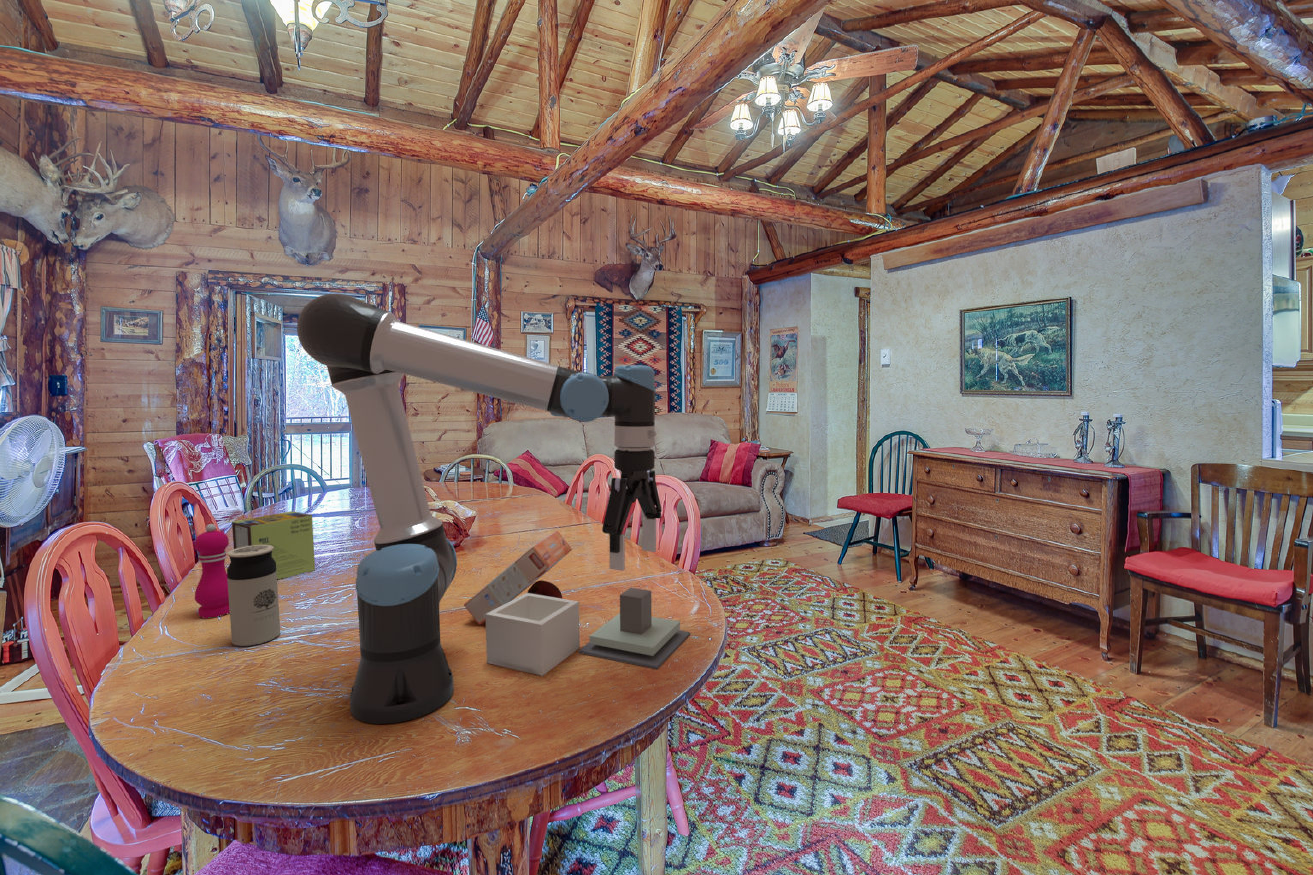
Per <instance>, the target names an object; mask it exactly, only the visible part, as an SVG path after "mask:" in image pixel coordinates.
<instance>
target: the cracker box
mask: <svg viewBox="0 0 1313 875" xmlns="http://www.w3.org/2000/svg"><path fill="white" fill-rule="evenodd" d="M572 550H573V549H572V547H571V545H570V543H568V542H567V540H566V539H565V538H564V537H563V536H562V535H561V533H560V532H559V531H558V530H554V532H552V533H550V534H549V535H547V536H546V537H545V538H543V539H542V540H540V541H538V542H537V543H536V544H534V545H532V546H531V547H529V549H528V550H527V551H526V552H524V553H523V554H522V555H520V556H519V557H518V558H517V559H516V560H515V561H514V562H512V563H511V564H510V565H508V566H507V567H506V568H505V569H504V570H502V572H500V573H499V574H498V575H497V576H495V577H494V578H493V579H492V580H491V581H490V582H489V583H487V584H486V585H485V586H484V587H483V588H481V589H480V590H479V591H477V593H475V595H473V596H472V597H471V598H469V599H468V600H467V601H466V602H465V603H464V604H463V606H464V607H465V609H466V610H467V611H468V612H469V614H470V615H471V616H472V618H473V619H474V620H475V622H476V623H477V624H478V625H479V626H481V625H482V624H483V623H486V617H485V614H487V613H489V612H490V611H492V610H494V609H496V608H498V607H500V606H502V605H504V604H506V603H508V602H510V601H512V600H514V599H516V598H518V597H519V596H520V594H522V593H523V592H524V591H525V590H527V589H529V588H530V587H531V586H532V585H533V584H534V583H535V582H537V581H539V579H540V578H541V577H543V576H544V575H545V574H546V573H547V572H549V571H550V570H551V569H553V567H555V566H556V565H557V564H558V563H559V562H560V561H561V560H562V559H563V558H564V557H566V556H567V555H568V554H569V553H570V552H571V551H572Z"/></svg>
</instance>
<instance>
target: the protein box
mask: <svg viewBox="0 0 1313 875" xmlns="http://www.w3.org/2000/svg"><path fill="white" fill-rule="evenodd" d="M231 525H232V526H231V528H232V529H231V530H232V539H233V540H232V541H233V544H232V545H233V549H236V548H240V547H246V546H252V545H271V546H273V547H274V549H273V550H272V558H273V559H274V560H275V562H276V570H277V579H280V580H282V579H281V578H284V579H288V578H291V576H292V577H294V576H295V575H296V576H299V575H298V574H300V575H302V574H301V573H304V574H306V573H305V572H307V573H311V572H314V571H316V564H315V563H316V562H315V546H314V543H315V542H314V526H313V515H312V514H310V513H309V514H308V513H303V512H298V511H294V510H290V511H286V512H282V513H281V512H280V513H275V514H269V515H262V516H257V517H251V518H246V519H240V520H234V521H232V522H231ZM296 576H295V577H296ZM287 577H288V578H287Z"/></svg>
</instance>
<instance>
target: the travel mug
mask: <svg viewBox="0 0 1313 875" xmlns="http://www.w3.org/2000/svg"><path fill="white" fill-rule="evenodd" d="M273 549H274V547H273V546H271V545H252V546H246V547H240V548H236V549H234V548H233V549H231V550H229V551H228V552H227V553H226V555H227V557H229V560H230V563H229V565H228V567H227V569H226V573H227V579H228V593H229V608H230V613H229V620H230V633H231V636H230V638H231V643H232V645H234V646H238V645H239V646H238V647H250V646H249V645H253V646H256V645H255V644H258V645H260V644H259V643H262V644H264V643H263V642H265V643H268V642H270V641H273V640H274V639H275V637H276V638H277V637H279V635H280V634H281V623H280V622H281V619H280V606H279V591H278V590H279V589H278V588H279V587H278V580H277V570H276V562H275V560H274V559H273V558H272V550H273ZM267 641H268V642H267Z"/></svg>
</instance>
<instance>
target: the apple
mask: <svg viewBox="0 0 1313 875" xmlns="http://www.w3.org/2000/svg"><path fill="white" fill-rule="evenodd" d="M526 593H531V594H537V595H543V596H549V597H555V598H561V599H563V595H562V592H561V590H560V589H559V587H558V586H556V584H554V583H552V582H550V581H547V580H543V579H541V580H536V581H535V582H534V583H533V584H531V585H530V586H529V588H528V590H527V592H526Z"/></svg>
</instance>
